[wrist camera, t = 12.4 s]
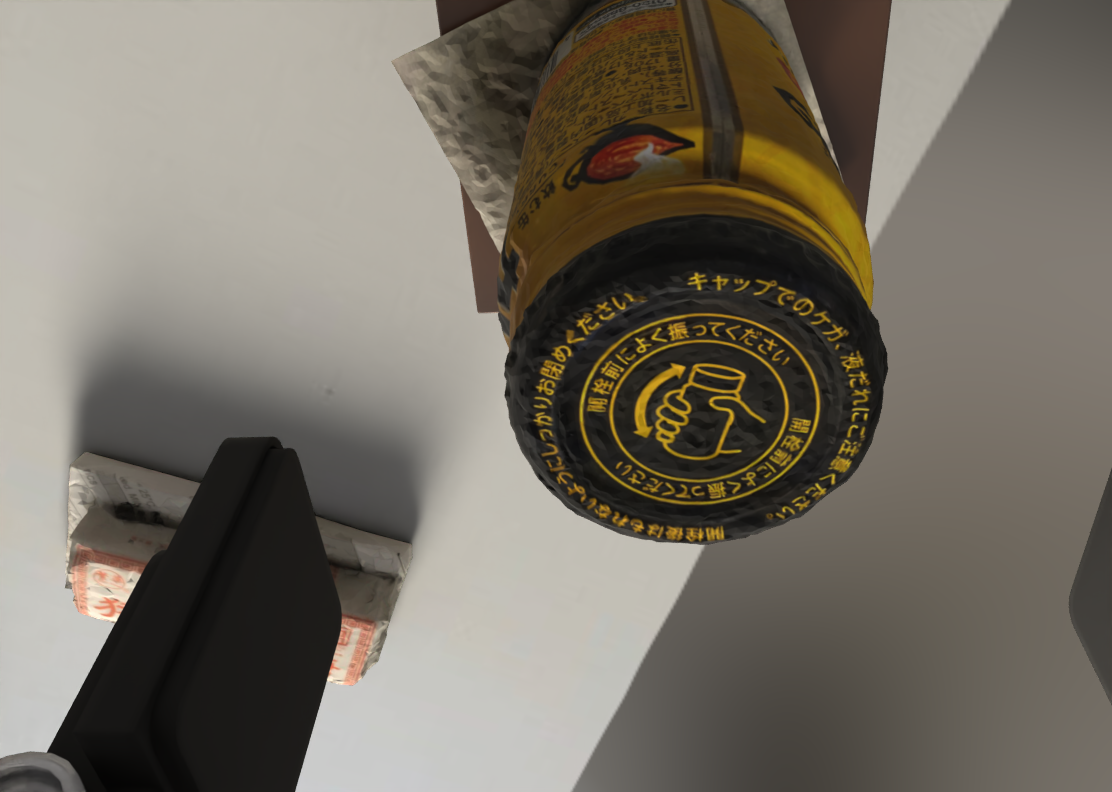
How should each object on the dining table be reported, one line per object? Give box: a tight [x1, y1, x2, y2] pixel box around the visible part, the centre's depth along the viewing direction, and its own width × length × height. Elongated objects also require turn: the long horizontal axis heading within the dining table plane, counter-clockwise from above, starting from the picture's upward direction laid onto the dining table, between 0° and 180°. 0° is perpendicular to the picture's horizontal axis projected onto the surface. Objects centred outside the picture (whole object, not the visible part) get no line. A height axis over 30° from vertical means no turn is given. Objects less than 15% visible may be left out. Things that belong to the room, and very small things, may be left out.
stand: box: [436, 0, 892, 313], centre depth 30 cm, size 10×10×16 cm
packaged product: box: [65, 452, 412, 686], centre depth 53 cm, size 18×5×10 cm
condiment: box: [391, 0, 888, 545], centre depth 18 cm, size 7×8×12 cm
